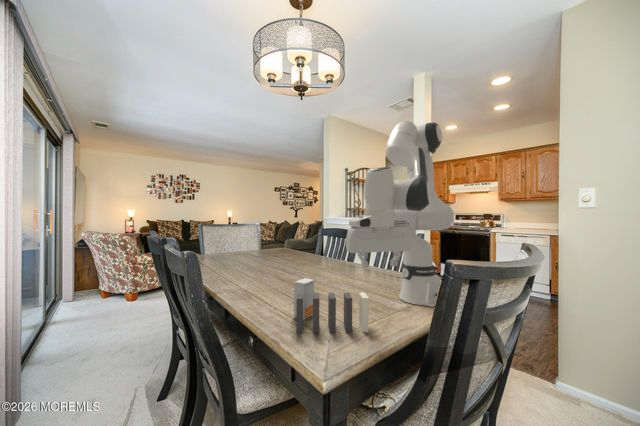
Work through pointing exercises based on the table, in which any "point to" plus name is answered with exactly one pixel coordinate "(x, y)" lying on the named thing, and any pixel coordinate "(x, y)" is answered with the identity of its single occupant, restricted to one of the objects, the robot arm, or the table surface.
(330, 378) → the table surface
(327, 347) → the table surface
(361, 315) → the domino
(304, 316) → the skincare box
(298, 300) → the domino
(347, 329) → the domino
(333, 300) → the domino
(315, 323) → the domino
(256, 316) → the table surface
